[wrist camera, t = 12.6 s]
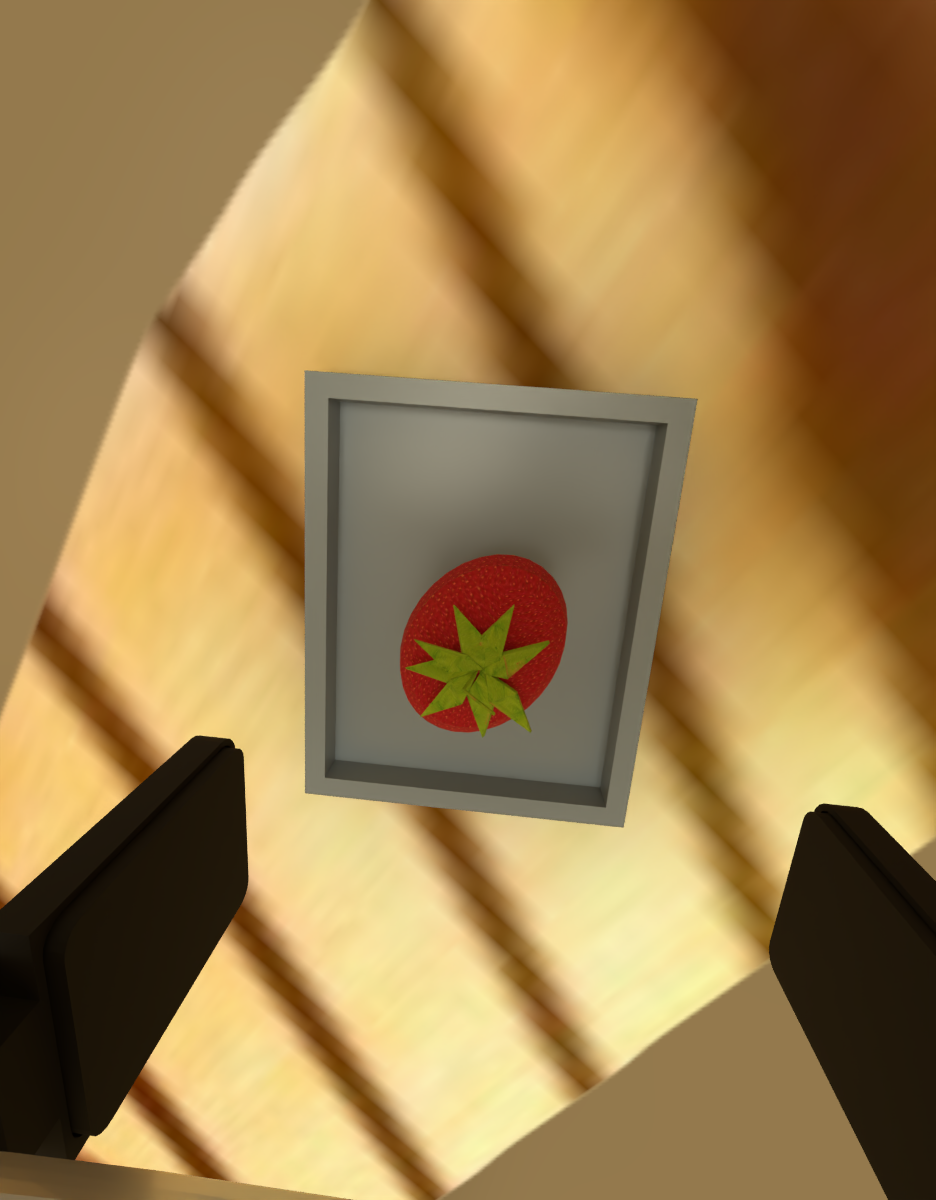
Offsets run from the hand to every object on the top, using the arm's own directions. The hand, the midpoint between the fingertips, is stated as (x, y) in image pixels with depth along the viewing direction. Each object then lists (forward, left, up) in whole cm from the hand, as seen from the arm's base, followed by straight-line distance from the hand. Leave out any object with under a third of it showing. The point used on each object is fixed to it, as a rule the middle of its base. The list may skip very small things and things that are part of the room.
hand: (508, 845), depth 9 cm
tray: (+1, +1, -19) cm, 19 cm away
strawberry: (+1, +1, -18) cm, 18 cm away
